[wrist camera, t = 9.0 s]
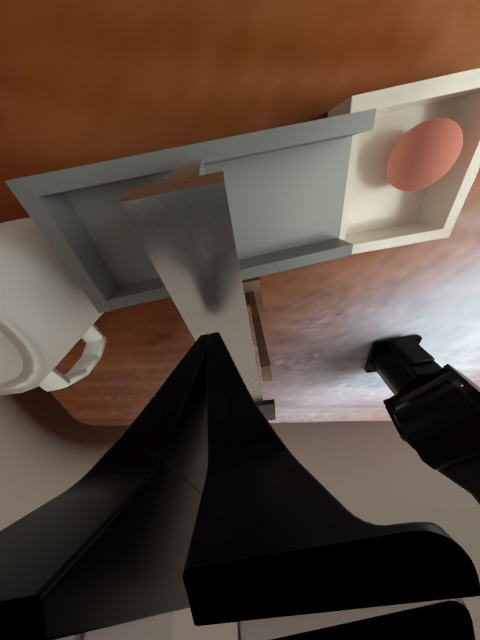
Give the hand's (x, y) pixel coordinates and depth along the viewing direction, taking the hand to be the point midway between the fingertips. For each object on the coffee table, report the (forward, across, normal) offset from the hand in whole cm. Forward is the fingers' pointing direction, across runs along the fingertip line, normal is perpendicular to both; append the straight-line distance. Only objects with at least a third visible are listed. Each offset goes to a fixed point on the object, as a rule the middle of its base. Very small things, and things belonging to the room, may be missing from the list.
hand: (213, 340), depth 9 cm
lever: (+7, 0, +4) cm, 8 cm away
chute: (+13, -1, -3) cm, 14 cm away
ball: (+11, -16, -4) cm, 20 cm away
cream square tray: (+13, -15, -3) cm, 20 cm away
